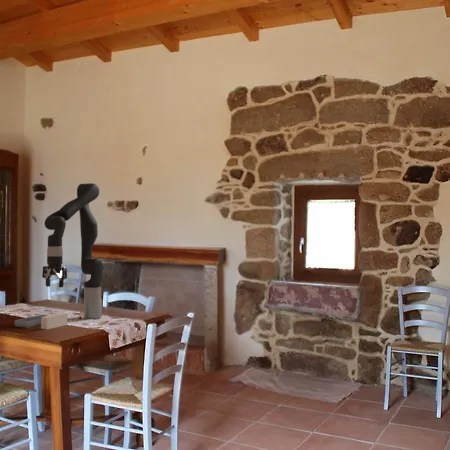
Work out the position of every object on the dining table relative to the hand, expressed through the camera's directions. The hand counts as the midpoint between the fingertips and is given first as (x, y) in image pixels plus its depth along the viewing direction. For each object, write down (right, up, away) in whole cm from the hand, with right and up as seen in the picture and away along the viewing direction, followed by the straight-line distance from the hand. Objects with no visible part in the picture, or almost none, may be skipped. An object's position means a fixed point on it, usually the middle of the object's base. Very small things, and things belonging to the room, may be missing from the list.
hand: (54, 286), depth 271 cm
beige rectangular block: (0, -21, 0) cm, 21 cm away
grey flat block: (-12, -20, +7) cm, 25 cm away
